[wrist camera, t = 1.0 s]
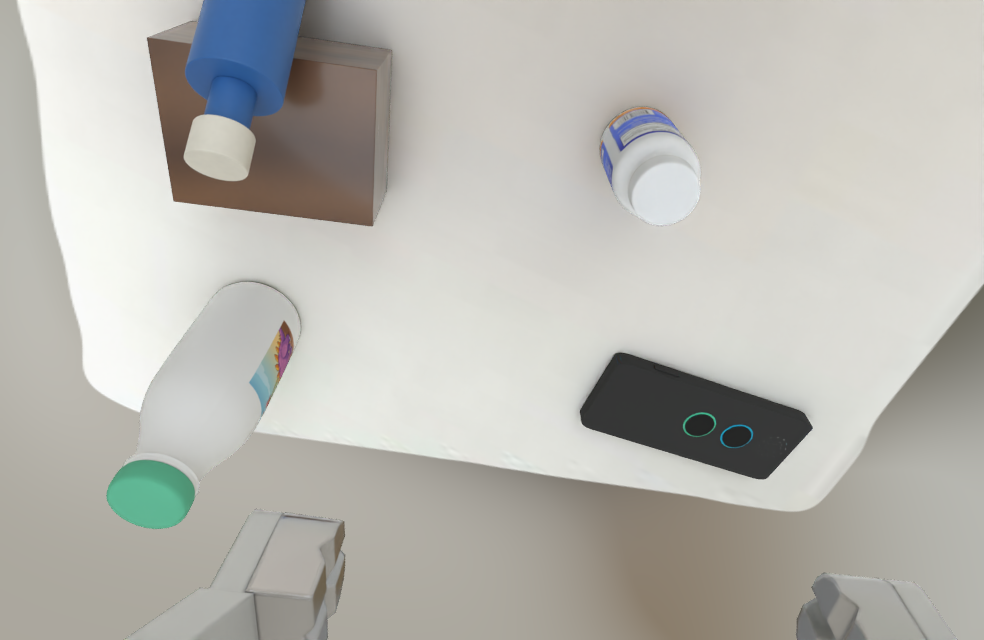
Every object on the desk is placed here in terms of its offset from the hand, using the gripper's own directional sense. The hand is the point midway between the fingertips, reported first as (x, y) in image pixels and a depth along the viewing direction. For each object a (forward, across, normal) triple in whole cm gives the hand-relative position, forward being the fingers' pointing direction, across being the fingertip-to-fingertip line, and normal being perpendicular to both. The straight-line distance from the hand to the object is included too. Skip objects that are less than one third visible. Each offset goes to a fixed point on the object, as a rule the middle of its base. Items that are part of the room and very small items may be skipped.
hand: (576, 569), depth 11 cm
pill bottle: (+38, -7, 0) cm, 39 cm away
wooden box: (+37, +17, 0) cm, 41 cm away
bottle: (+36, +17, -7) cm, 40 cm away
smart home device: (+41, -18, +24) cm, 51 cm away
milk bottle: (+39, +22, +18) cm, 48 cm away
